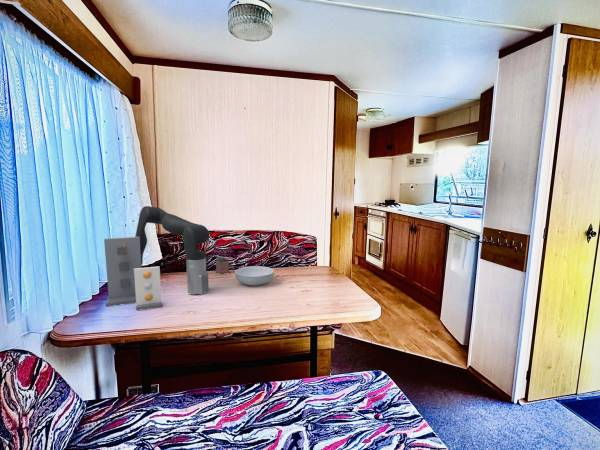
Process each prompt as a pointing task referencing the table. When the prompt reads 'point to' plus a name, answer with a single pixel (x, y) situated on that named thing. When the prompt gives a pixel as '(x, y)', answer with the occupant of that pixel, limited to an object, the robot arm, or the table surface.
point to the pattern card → (147, 287)
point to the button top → (121, 250)
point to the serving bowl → (254, 275)
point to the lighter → (222, 265)
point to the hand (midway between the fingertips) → (127, 277)
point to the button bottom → (125, 283)
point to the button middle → (123, 266)
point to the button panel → (115, 275)
